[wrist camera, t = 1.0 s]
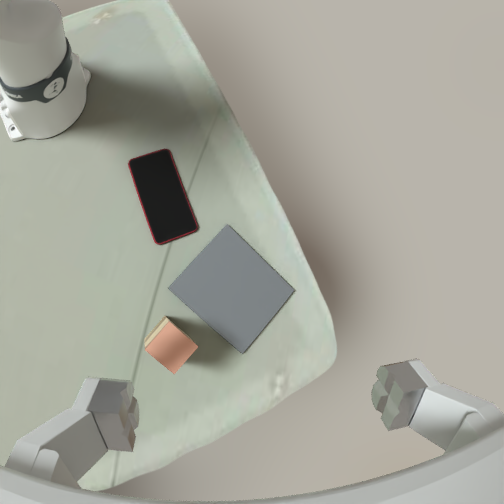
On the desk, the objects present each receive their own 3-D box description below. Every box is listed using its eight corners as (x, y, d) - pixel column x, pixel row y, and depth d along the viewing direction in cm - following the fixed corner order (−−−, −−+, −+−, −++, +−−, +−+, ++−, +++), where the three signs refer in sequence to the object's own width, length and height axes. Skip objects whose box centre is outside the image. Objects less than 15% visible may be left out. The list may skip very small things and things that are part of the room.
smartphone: (168, 147, 51) (199, 229, 51) (168, 149, 52) (198, 230, 52) (127, 160, 48) (156, 245, 49) (127, 162, 49) (155, 246, 49)
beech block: (144, 338, 47) (145, 349, 38) (165, 315, 48) (169, 321, 40) (168, 359, 48) (174, 374, 39) (188, 336, 49) (198, 346, 41)
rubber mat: (168, 288, 49) (168, 288, 48) (226, 224, 53) (227, 224, 53) (241, 353, 52) (242, 353, 51) (292, 290, 56) (294, 290, 55)
